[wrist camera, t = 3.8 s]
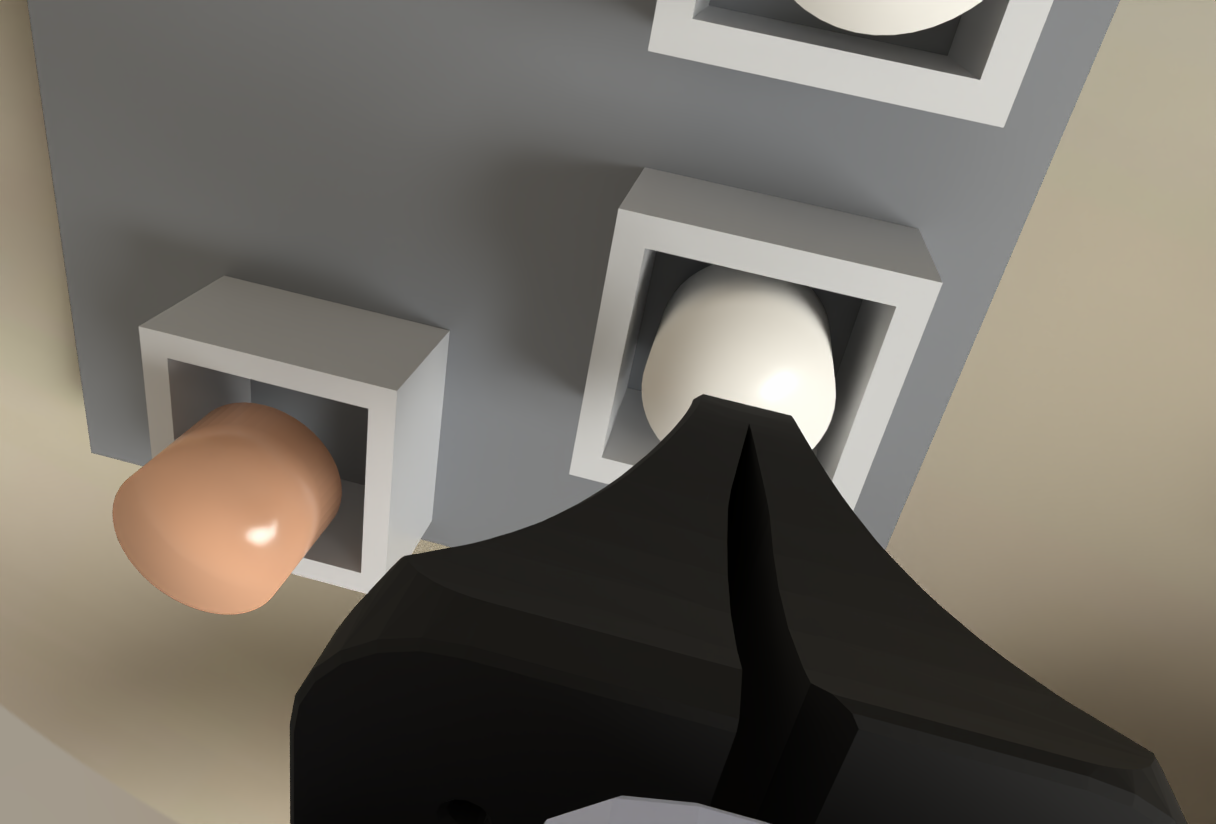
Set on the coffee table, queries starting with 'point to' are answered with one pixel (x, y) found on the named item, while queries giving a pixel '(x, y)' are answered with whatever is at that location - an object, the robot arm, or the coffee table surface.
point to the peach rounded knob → (228, 508)
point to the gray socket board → (526, 226)
